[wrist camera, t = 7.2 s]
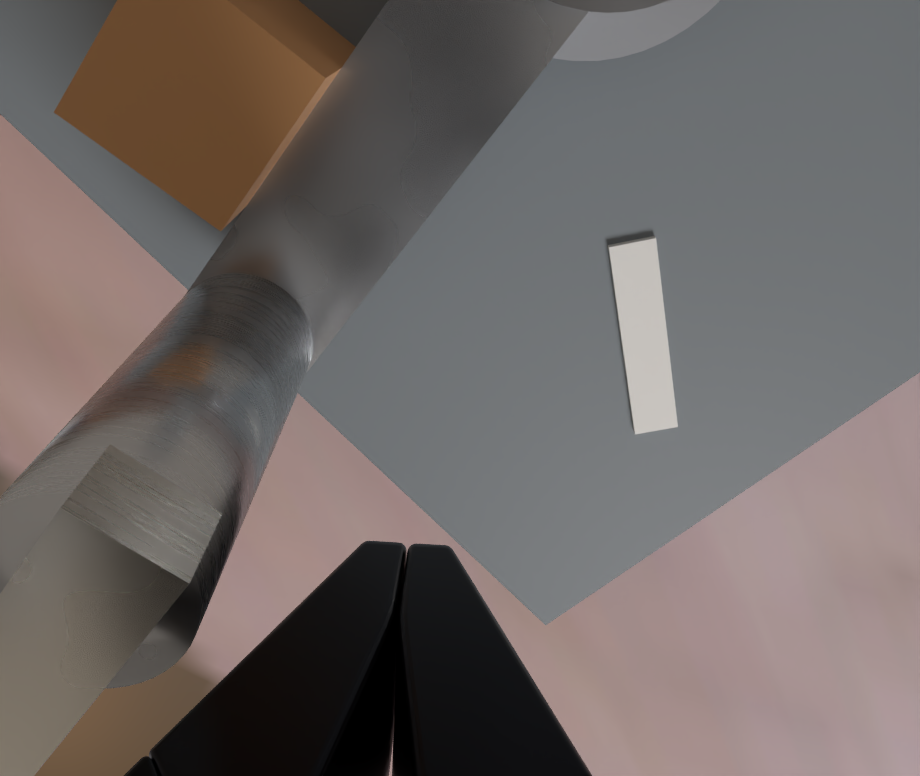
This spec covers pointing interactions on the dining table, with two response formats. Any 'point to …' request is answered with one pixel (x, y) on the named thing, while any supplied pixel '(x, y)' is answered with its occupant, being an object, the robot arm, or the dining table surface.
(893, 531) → the dining table surface
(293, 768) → the robot arm
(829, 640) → the dining table surface
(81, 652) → the crank
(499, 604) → the dining table surface
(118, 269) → the dining table surface
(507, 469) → the crank bed
